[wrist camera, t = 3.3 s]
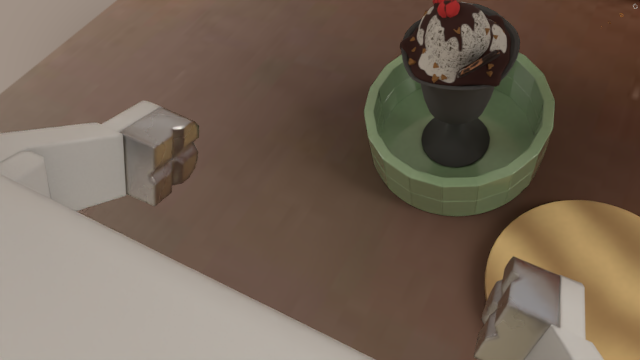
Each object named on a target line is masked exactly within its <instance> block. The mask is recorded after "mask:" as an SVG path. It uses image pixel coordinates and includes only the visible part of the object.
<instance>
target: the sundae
mask: <svg viewBox="0 0 640 360" xmlns="http://www.w3.org/2000/svg"><path fill="white" fill-rule="evenodd" d="M433 4H434V6H433V7H432V8H430V9H429V11H425V13H424V17H423V18H422V19H420V20H419V21H417V22H416V23H414V24H413V25H412V26H411V27H410V28H409V29H408V31H407V32H406V33H405V36H404V38H403V40H402V42H401V43H400V49H401V52H402V60H403V64H404V67H405V69H406V71H407V73H408V75H409V76H410V77H411V78H412V79H413V80H414V81H416V82H418V83H419V84H421V88H422V92H423V96H424V100H425V102H426V104H427V107H428V109H429V111H430V113H431V114H432V115H433V116H434V117H435V118H433V119H432V120H431V121H430V122H429V123H428V124H427V125H426V127H425V128H424V130H423V133H422V139H421V141H422V146H423V149H424V151H425V153H426V154H427V156H428V157H429V158H430V159H431V160H433V161H434V162H436V163H438V164H440V165H442V166H447V167H456V168H457V167H464V166H468V165H471V164H473V163H475V162H476V161H478V160H479V159H481V158H482V156H483V155H484V154H485V153H486V151H487V149H488V147H489V142H490V136H489V132H488V130H487V127H486V126H485V125H484V123H483V122H482V121H481V120H480V119H478V117H479V116H480V115H481V114H482V113H483V111H484V109H485V108H486V106H487V104H488V102H489V100H490V98H491V96H492V93H493V90H494V88H495V87H496V86H499V84H500V82H501V80H502V79H503V78H504V77H506V75H507V74H508V73H509V71H510V70H511V68H512V67H513V65H514V63H515V61H516V59H517V57H518V53H519V48H520V39H519V36H518V33H517V31H516V30H515V28H514V27H513V26H512V25H511V24H510V23H509V22H508V21H507V20H505V19H504V18H503V17H502V16H500V15H499V14H498V13H496V12H495V11H493V10H491V9H489V8H487V7H484V6H482V5H479V4H471V3H465V2H457V1H456V0H433Z"/></svg>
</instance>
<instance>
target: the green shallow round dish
mask: <svg viewBox="0 0 640 360" xmlns="http://www.w3.org/2000/svg"><path fill="white" fill-rule="evenodd" d="M554 108H555V101H554V97H553V95H552V93H551V90H550V88H549V85H548V83H547V80H546V78H545V76H544V74H543V73H542V72H541V71H540V70H539V69H538V68H537V67H536V66H535V65H534V64H533V63H532V62H531V61H530V60H529V59H528V58H527V57H526V56H525V55H523V54H521V53H518V57H517V59H516V61H515V63H514V65H513V67H512V68H511V70H510V71H509V73H508V74H507V75H506V77H504V78H503V79H502V80H501V82H500V84H499V86H496V87H495V88H494V90H493V93H492V96H491V98H490V100H489V102H488V104H487V106H486V108H485V109H484V111H483V113H482V114H481V115H480V116H479V117H478V119H480V120H481V121H482V122H483V123H484V125H485V126H486V127H487V130H488V132H489V136H490V142H489V147H488V149H487V151H486V153H485V154H484V155H483V156H482V158H481V159H479V160H478V161H476V162H475V163H473V164H471V165H468V166H464V167H457V168H456V167H447V166H442V165H440V164H438V163H436V162H434V161H433V160H431V159H430V158H429V157H428V156H427V154H426V153H425V151H424V149H423V146H422V141H421V139H422V133H423V130H424V128H425V127H426V125H427V124H428V123H429V122H430V121H431V120H432V119H433V118H435V117H434V116H433V115H432V114H431V113H430V111H429V109H428V107H427V104H426V102H425V100H424V96H423V92H422V88H421V84H419V83H418V82H416V81H414V80H413V79H412V78H411V77H410V76H409V75H408V73H407V71H406V69H405V67H404V64H403V60H402V54H401V55H400V56H399V57H397V58H396V59H394V60H393V61H392V62H390V63H389V64H387V65H386V66H385V68H384V69H383V70H382V72H381V73H380V74H379V76H378V77H377V79H376V80H375V81H374V83H373V84H372V85H371V87H370V89H369V93H368V97H367V101H366V105H365V108H364V116H365V122H366V128H367V134H368V139H369V144H370V148H371V152H372V157H373V161H374V166H375V168H376V169H377V171H378V173H379V175H380V177H381V178H382V180H383V181H384V183H385V184H386V185H387V187H388V188H389V189H390V190H391V191H392V192H393V193H394V194H395V195H397V196H398V197H399V198H400V199H402V200H403V201H405V202H406V203H408V204H410V205H412V206H414V207H416V208H418V209H420V210H423V211H426V212H429V213H434V214H438V215H445V216H469V215H475V214H480V213H484V212H488V211H491V210H493V209H496V208H498V207H501V206H502V205H504V204H506V203H508V202H509V201H511V200H512V199H514V198H515V197H516V196H518V195H519V194H520V193H521V192H522V191H523V190H524V189H525V188H526V187H527V186H528V185H529V184H530V182H531V180H532V179H533V178H534V176H535V174H536V172H537V170H538V168H539V166H540V164H541V162H542V160H543V157H544V154H545V151H546V148H547V145H548V142H549V139H550V136H551V133H552V130H553V124H554Z"/></svg>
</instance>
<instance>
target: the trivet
mask: <svg viewBox="0 0 640 360" xmlns="http://www.w3.org/2000/svg"><path fill="white" fill-rule="evenodd" d="M513 256H514V257H517V258H519V259H521V260H524V261H526V262H529V263H531V264H533V265H536V266H538V267H541V268H543V269H545V270H548V271H550V272H553V273H555V274H557V275H562V276H565V277H567V278H570V279H572V280H575V281H577V282H580V283H582V284H583V286H584V287H585V336H586V340H588V341H590V342H592V343H593V344H594V346H595V347H596V349H597V350H598V352H599V353H600V355H601V356H602V357H603V359H604V360H640V217H639V216H637V215H635V214H633V213H631V212H629V211H627V210H624V209H621V208H619V207H616V206H613V205H609V204H605V203H601V202H595V201H587V200H564V201H557V202H552V203H548V204H544V205H541V206H538V207H536V208H533V209H531V210H529V211H527V212H525V213H524V214H522V215H520V216H519V217H517V218H516V219H515V220H513V221H512V222H511V223H510V224H509V225H508V226H507V227H506V228H505V229H504V230H503V231H502V233H501V234H500V235H499V237H498V238H497V239H496V241H495V243H494V245H493V247H492V249H491V252H490V255H489V257H488V260H487V265H486V271H485V282H484V288H485V298H486V301H487V299H488V297H489V295H490V292H491V290H492V289H493V287H494V285H495V283H496V282H497V281H500V280H502V279H503V274H504V269H505V267H506V265H507V263H508V262H509V260H510V259H511V258H512V257H513Z"/></svg>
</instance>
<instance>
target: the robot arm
mask: <svg viewBox="0 0 640 360" xmlns="http://www.w3.org/2000/svg"><path fill="white" fill-rule="evenodd" d="M198 137H199V126H198V124H197V123H196V122H195V121H193V120H190V119H188V118H186V117H184V116H182V115H179V114H177V113H175V112H173V111H170V110H168V109H166V108H163V107H161V106H159V105H156V104H154V103H152V102H150V101H141V102H139V103H138V104H136V105H134V106H132V107H131V108H129V109H127V110H125V111H124V112H122V113H120V114H118V115H117V116H115V117H113V118H111V119H110V120H108V121H106V122H104V123H103V124H98V123H96V122H95V123H86V124H77V125H68V126H59V127H50V128H42V129H33V130H24V131H15V132H6V133H0V360H376V359H373V358H371V357H369V356H367V355H365V354H363V353H361V352H359V351H357V350H355V349H353V348H351V347H349V346H347V345H345V344H343V343H341V342H339V341H337V340H335V339H333V338H331V337H329V336H327V335H325V334H323V333H321V332H319V331H317V330H315V329H313V328H311V327H309V326H307V325H305V324H303V323H301V322H299V321H297V320H295V319H293V318H291V317H289V316H287V315H285V314H283V313H281V312H279V311H277V310H275V309H273V308H271V307H269V306H267V305H265V304H263V303H260V302H258V301H256V300H254V299H252V298H250V297H248V296H246V295H244V294H242V293H240V292H238V291H236V290H234V289H232V288H230V287H228V286H226V285H224V284H222V283H220V282H218V281H216V280H214V279H212V278H210V277H208V276H206V275H204V274H202V273H200V272H198V271H196V270H194V269H192V268H189V267H187V266H185V265H183V264H181V263H179V262H177V261H175V260H173V259H171V258H169V257H167V256H165V255H163V254H161V253H159V252H157V251H155V250H153V249H151V248H149V247H147V246H145V245H143V244H141V243H139V242H137V241H135V240H133V239H131V238H129V237H127V236H125V235H123V234H121V233H119V232H117V231H115V230H113V229H111V228H109V227H106V226H104V225H102V224H100V223H98V222H96V221H94V220H92V219H90V218H88V217H86V216H84V215H82V214H80V213H78V212H76V211H79V210H82V209H85V208H88V207H91V206H95V205H98V204H101V203H104V202H107V201H111V200H114V199H117V198H120V197H123V196H126V194H128V195H130V196H132V197H134V198H137V199H139V200H141V201H144V202H146V203H148V204H150V205H153V206H156V205H157V204H158V203H160V202H161V201H162V200H163V199H164V198H166V197H167V196H168V195H169V194H170V193H172V185H177V184H182V183H183V182H184V181H186V180H187V179H188V178H189V177H190V175H191V174H192V172H193V170H194V169H195V166H196V163H197V159H198V151H197V149H196V147H195V145H194V143H193V142H194V141H195V140H196V139H197V138H198ZM482 321H483V323H484V326H483V327H482V329H481V331H480V332H479V334H478V338H477V343H476V348H475V353H474V357H475V358H476V359H478V360H604V359H603V357H602V356H601V355H600V353H599V352H598V350H597V349H596V347H595V346H594V344H593V343H592V342H590V341H588V340H586V336H585V287H584V286H583V284H582V283H580V282H577V281H575V280H572V279H570V278H567V277H565V276H562V275H557V274H555V273H553V272H550V271H548V270H545V269H543V268H541V267H538V266H536V265H533V264H531V263H529V262H526V261H524V260H521V259H519V258H517V257H514V256H513V257H512V258H511V259H510V260H509V262H508V263H507V265H506V267H505V269H504V274H503V279H502V280H500V281H497V282H496V283H495V285H494V287H493V289H492V290H491V292H490V295H489V297H488V299H487V301H486V304H485V307H484V310H483V315H482Z"/></svg>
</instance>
